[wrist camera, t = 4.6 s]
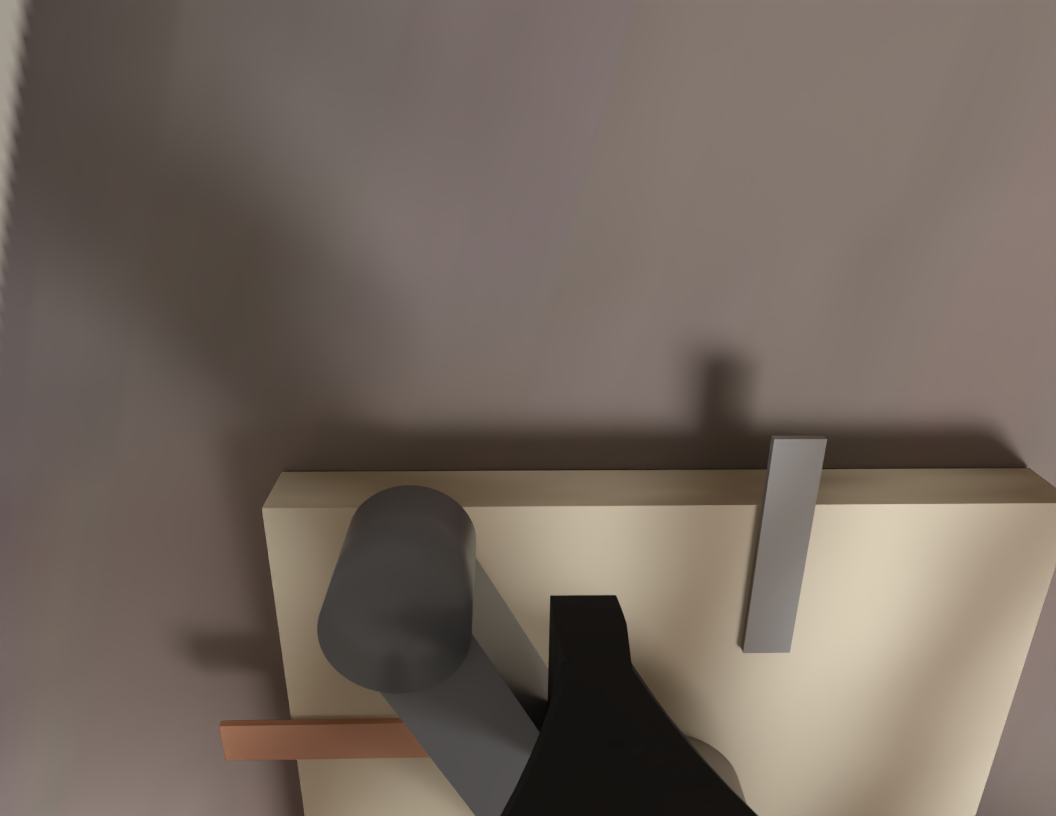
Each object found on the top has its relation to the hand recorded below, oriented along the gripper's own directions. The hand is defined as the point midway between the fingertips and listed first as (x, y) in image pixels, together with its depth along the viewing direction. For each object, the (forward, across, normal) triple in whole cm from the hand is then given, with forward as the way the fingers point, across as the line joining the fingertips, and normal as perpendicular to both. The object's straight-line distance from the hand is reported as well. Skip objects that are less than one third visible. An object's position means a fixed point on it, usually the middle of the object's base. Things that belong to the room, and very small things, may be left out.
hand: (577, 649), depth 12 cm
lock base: (+5, -1, +7) cm, 9 cm away
